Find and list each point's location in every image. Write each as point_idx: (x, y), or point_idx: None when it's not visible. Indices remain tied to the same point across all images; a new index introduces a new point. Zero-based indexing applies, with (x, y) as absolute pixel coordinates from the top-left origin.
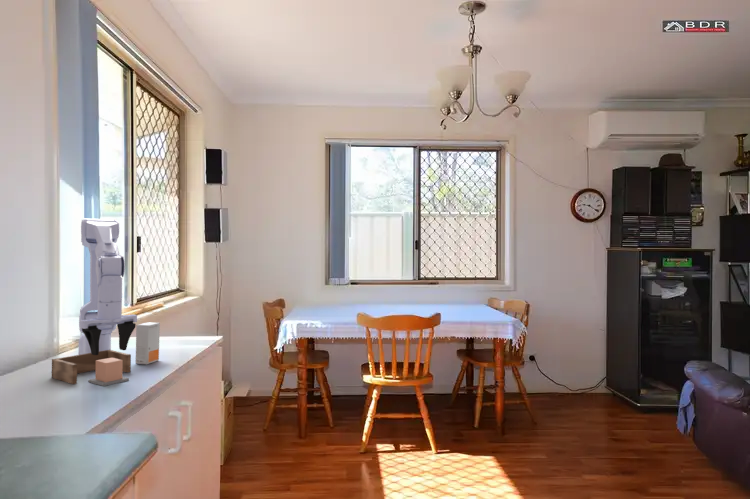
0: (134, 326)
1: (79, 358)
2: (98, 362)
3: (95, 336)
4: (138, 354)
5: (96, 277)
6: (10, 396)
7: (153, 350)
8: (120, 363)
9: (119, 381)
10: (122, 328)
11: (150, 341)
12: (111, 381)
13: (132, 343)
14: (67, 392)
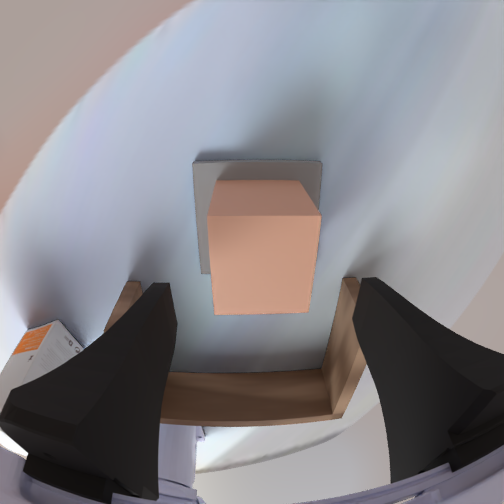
0: (16, 397)
1: (259, 411)
2: (311, 284)
3: (475, 350)
4: None
5: None
6: (482, 278)
7: (24, 352)
8: (222, 208)
9: (241, 160)
10: (136, 448)
11: (18, 377)
12: (275, 173)
13: None
14: (427, 196)
